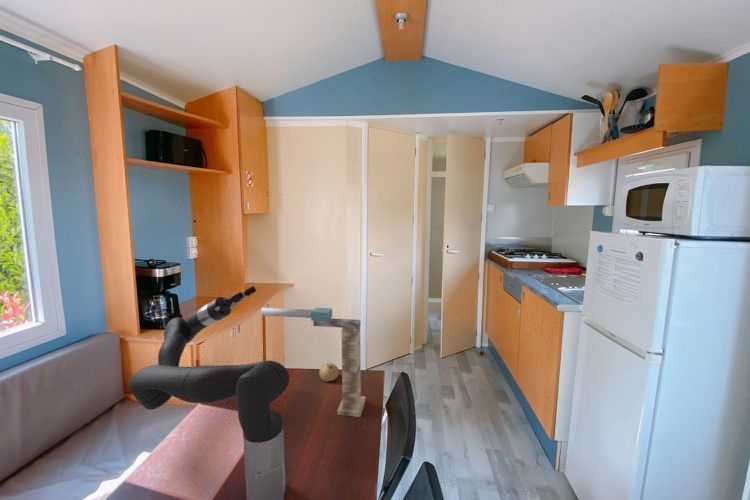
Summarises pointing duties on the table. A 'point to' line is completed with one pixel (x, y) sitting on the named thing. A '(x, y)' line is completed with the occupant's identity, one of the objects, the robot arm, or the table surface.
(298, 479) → the table surface
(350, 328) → the rail stand
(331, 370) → the onion
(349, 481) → the table surface
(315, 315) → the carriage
